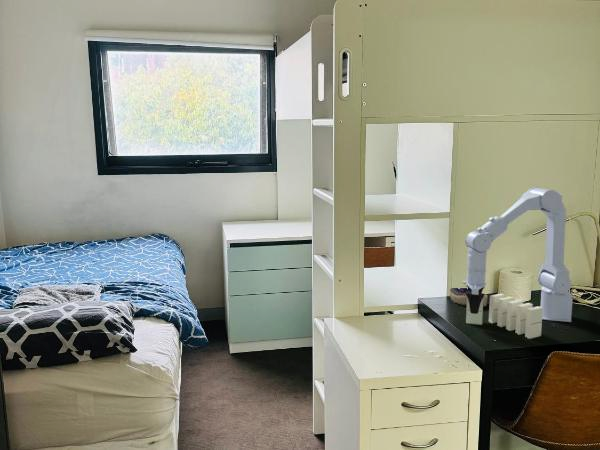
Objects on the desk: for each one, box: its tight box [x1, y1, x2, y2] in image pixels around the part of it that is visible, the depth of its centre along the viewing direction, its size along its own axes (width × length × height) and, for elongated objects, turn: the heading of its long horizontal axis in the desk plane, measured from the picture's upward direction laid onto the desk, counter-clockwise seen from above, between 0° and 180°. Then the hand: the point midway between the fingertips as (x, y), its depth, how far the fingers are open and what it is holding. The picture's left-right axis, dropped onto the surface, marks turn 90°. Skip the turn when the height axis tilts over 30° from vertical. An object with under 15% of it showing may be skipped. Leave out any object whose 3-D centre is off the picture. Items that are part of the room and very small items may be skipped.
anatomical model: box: [449, 287, 489, 307], centre depth 201 cm, size 12×16×5 cm
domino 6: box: [524, 305, 543, 340], centre depth 167 cm, size 2×5×9 cm, turn 116°
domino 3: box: [496, 296, 515, 328], centre depth 177 cm, size 2×5×9 cm, turn 116°
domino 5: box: [515, 302, 534, 335], centre depth 170 cm, size 2×5×9 cm, turn 116°
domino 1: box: [465, 298, 484, 326], centre depth 179 cm, size 2×5×9 cm, turn 72°
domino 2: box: [488, 293, 506, 324], centre depth 180 cm, size 2×5×9 cm, turn 117°
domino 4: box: [505, 299, 524, 332], centre depth 173 cm, size 2×5×9 cm, turn 116°
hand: (474, 309), depth 179 cm, fingers open, 7 cm apart
